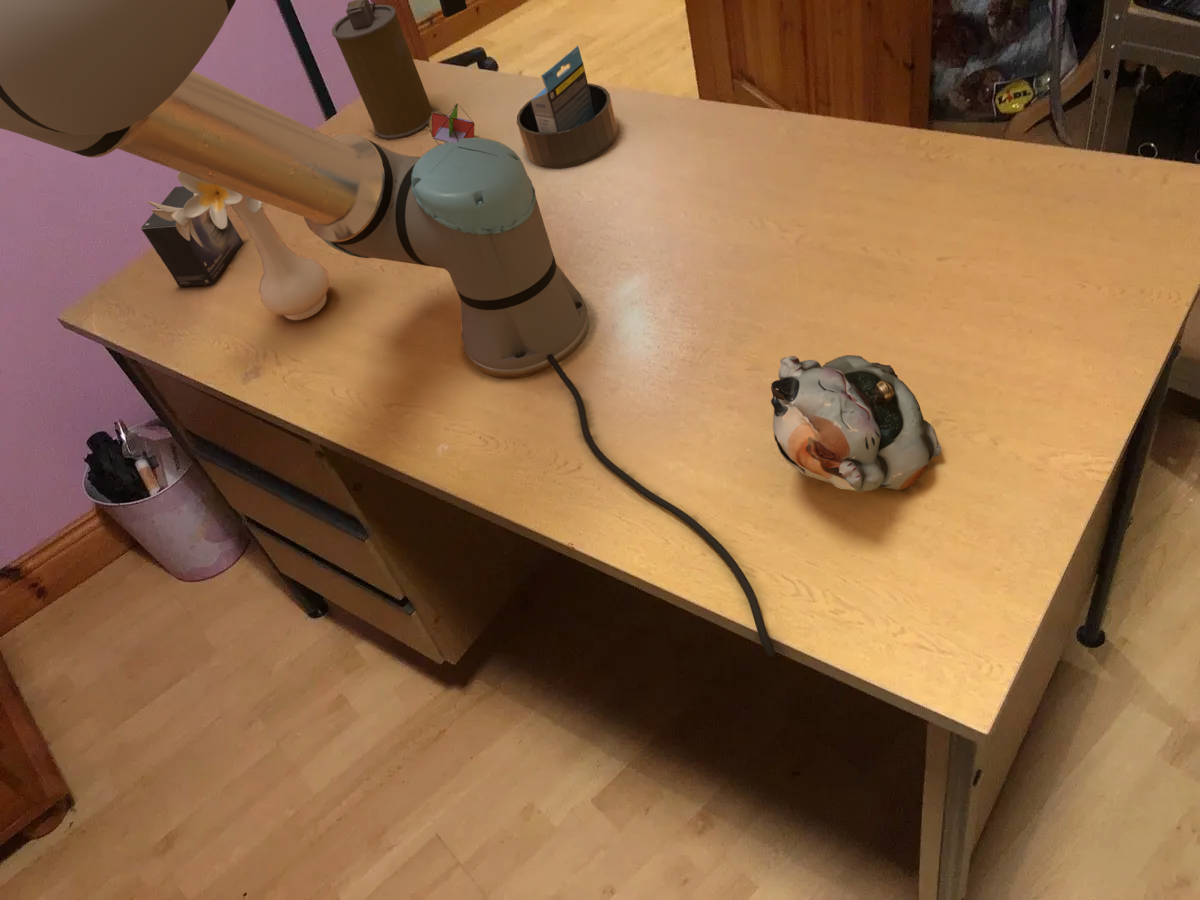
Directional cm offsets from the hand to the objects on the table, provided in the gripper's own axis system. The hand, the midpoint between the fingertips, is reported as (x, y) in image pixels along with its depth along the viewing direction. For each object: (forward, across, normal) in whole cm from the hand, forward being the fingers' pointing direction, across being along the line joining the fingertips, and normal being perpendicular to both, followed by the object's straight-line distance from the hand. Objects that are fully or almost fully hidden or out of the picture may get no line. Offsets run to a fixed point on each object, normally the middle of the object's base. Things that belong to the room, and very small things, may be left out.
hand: (419, 4), depth 106 cm
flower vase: (+34, +13, +22) cm, 43 cm away
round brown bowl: (+29, +8, -24) cm, 39 cm away
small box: (+34, +37, +24) cm, 56 cm away
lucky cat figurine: (+32, -62, +4) cm, 70 cm away
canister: (+31, +42, -16) cm, 54 cm away
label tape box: (+29, +8, -24) cm, 39 cm away
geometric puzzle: (+31, +25, -15) cm, 42 cm away
